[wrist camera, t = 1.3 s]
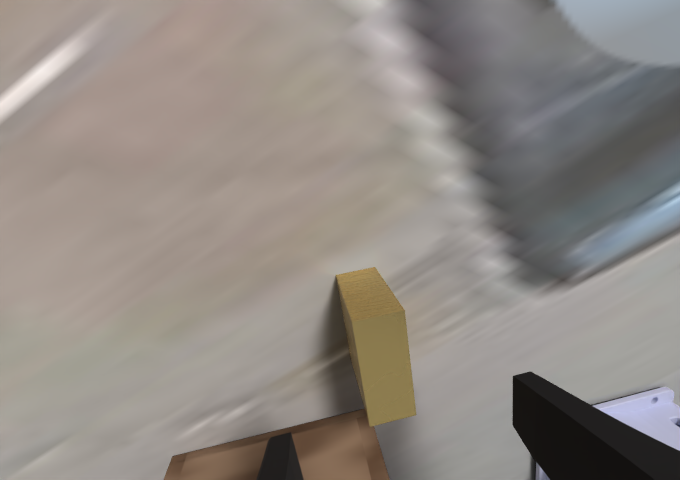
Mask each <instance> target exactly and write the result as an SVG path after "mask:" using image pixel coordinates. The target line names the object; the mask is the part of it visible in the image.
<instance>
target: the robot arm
mask: <svg viewBox="0 0 680 480" xmlns="http://www.w3.org/2000/svg"><path fill="white" fill-rule="evenodd" d="M673 399H674V392H673V391H672V390H671V389H669V388H668V387H661V388H657V389H653V390H650V391H646V392H642V393H638V394H635V395H631V396H627V397H623V398H619V399H616V400H612V401H608V402H604V403H601V404H597V405H593V406H591V405H590V404H588V403H586V402H584V401H582V400H581V399H579V398H577V397H575V396H574V395H572V394H570V393H568V392H566V391H565V390H563V389H561V388H559V387H558V386H556V385H554V384H552V383H551V382H549V381H547V380H545V379H543V378H542V377H540V376H538V375H536V374H534V373H532V372H527V373H523V374H519V375H515V376H513V426H514V428H515V430H516V431H517V433H518V434H519V436H520V438H521V439H522V441H523V443H524V444H525V446H526V447H527V449H528V450H529V452H530V453H531V455H532V456H533V458H534V459H535V461H536V480H680V407H679V406H678V405H676V404H675V403H673ZM256 480H304V479H303V475H302V471H301V467H300V464H299V460H298V456H297V453H296V449H295V445H294V441H293V438H292V434H291V432H289V433H285V434H281V435H277V436H274V437H271V438H270V439H269V440H268V443H267V446H266V450H265V453H264V457H263V460H262V463H261V467H260V470H259V473H258V476H257V479H256Z"/></svg>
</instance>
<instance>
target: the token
mask: <svg viewBox="0 0 680 480" xmlns="http://www.w3.org/2000/svg"><path fill="white" fill-rule="evenodd" d="M336 279H337V284H338V290H339V295H340V301H341V307H342V312H343V318H344V323H345V329H346V335H347V340H348V346H349V351H350V357H351V361H352V365H353V368H354V372H355V376H356V379H357V383H358V386H359V390H360V393H361V397H362V401H363V404H364V408H365V411H366V415H367V418H368V422H369V426H370V427H371V426H375V425H379V424H383V423H387V422H391V421H395V420H399V419H403V418H407V417H411V416H415V415H416V408H415V399H414V390H413V381H412V372H411V363H410V354H409V345H408V337H407V328H406V319H405V310H404V309H403V307H402V306H401V304H400V303H399V301H398V300H397V299H396V297H395V296H394V294H393V293H392V291H391V290H390V288H389V287H388V285H387V284H386V282H385V281H384V280H383V278H382V277H381V275H380V274H379V272H378V271H377V269H376V268H375V267H373V268H368V269H363V270H358V271H353V272H349V273H344V274H339V275H336Z"/></svg>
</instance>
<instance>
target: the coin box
mask: <svg viewBox="0 0 680 480" xmlns="http://www.w3.org/2000/svg"><path fill="white" fill-rule="evenodd" d="M289 432H291V434H292V438H293V441H294V445H295V449H296V453H297V456H298V460H299V464H300V467H301V471H302V475H303V479H304V480H390V479H389V476H388V473H387V469H386V466H385V462H384V459H383V456H382V452H381V449H380V445H379V442H378V439H377V435H376V432H375V428H374V426H371V427H370V426H369V422H368V418H367V415H366V411H365V409H361V410H357V411H353V412H349V413H345V414H341V415H337V416H333V417H329V418H325V419H321V420H317V421H313V422H309V423H305V424H301V425H297V426H293V427H289V428H285V429H281V430H277V431H273V432H269V433H265V434H261V435H257V436H253V437H249V438H245V439H241V440H237V441H233V442H229V443H225V444H221V445H216V446H212V447H208V448H204V449H200V450H196V451H192V452H188V453H184V454H180V455H176V456H173V457H172V459H171V462H170V464H169V467H168V470H167V472H166V475H165V478H164V480H256V479H257V476H258V473H259V470H260V467H261V463H262V460H263V457H264V453H265V450H266V446H267V443H268V440H269V439H270V438H271V437H274V436H277V435H281V434H285V433H289Z"/></svg>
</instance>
